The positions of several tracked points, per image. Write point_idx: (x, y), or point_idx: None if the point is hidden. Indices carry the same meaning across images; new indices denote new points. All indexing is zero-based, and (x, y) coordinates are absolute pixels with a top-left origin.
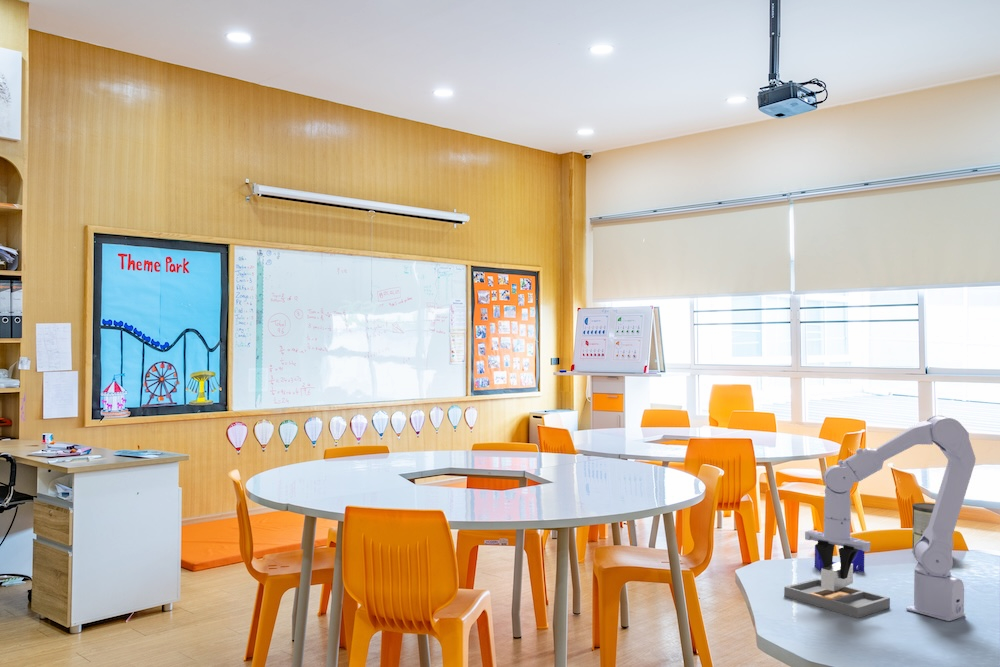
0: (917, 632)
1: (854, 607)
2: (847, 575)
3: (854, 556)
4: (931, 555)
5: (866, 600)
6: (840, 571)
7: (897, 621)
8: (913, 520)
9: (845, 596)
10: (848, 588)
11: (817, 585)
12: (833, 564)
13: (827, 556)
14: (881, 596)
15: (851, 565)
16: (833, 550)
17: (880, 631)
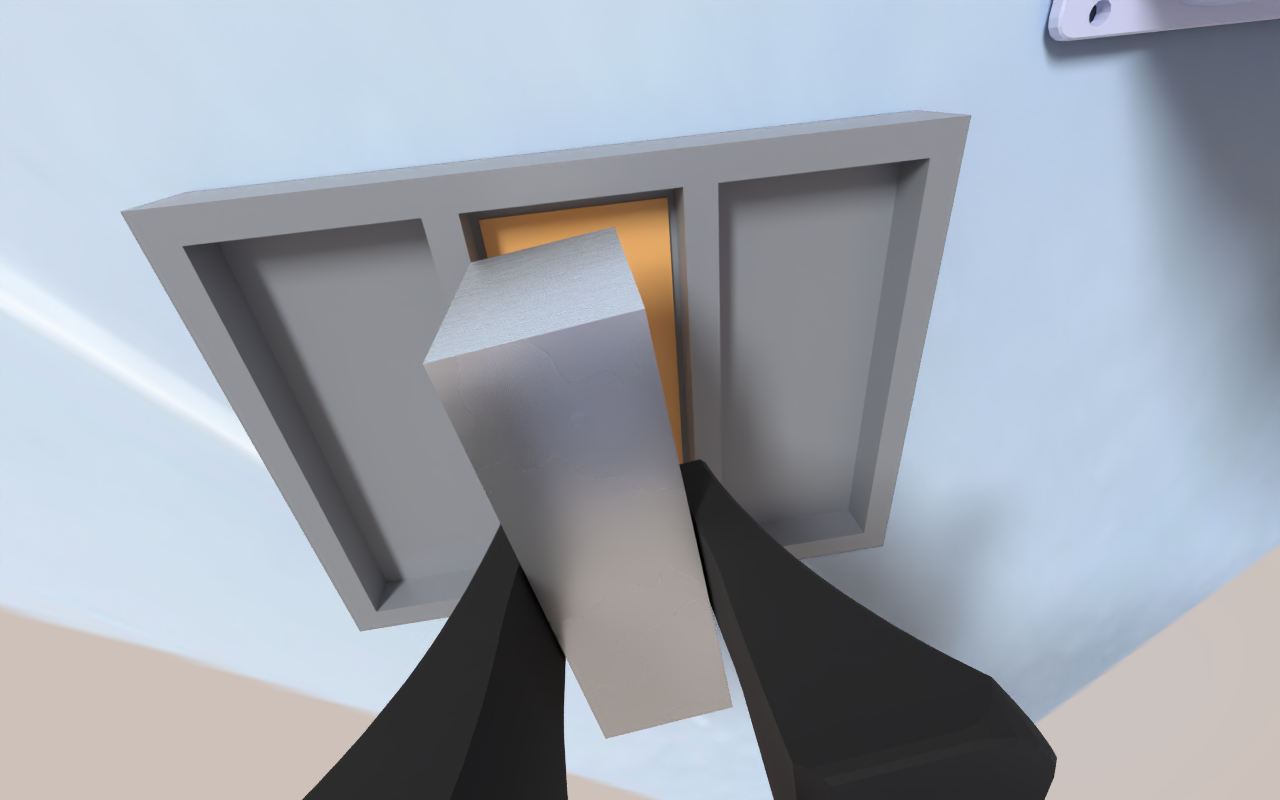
0: (1156, 411)
1: (861, 548)
2: (710, 473)
3: (881, 626)
4: None
5: (772, 243)
6: (710, 601)
7: (1037, 354)
8: None
9: (710, 442)
10: (551, 200)
11: (242, 264)
12: (537, 570)
13: (551, 775)
14: (896, 153)
15: (653, 354)
16: (474, 741)
17: (1001, 545)
